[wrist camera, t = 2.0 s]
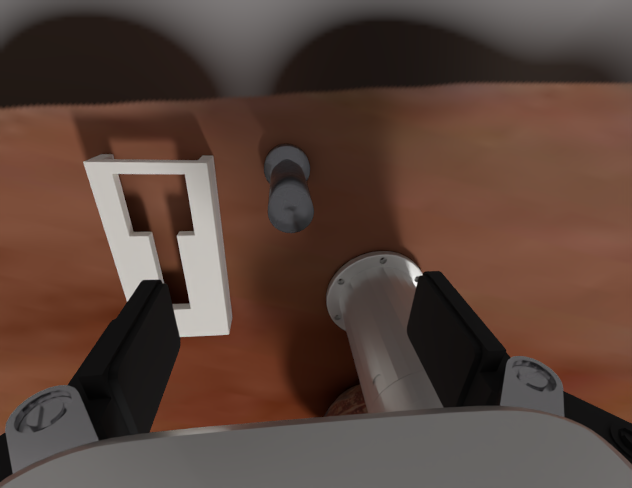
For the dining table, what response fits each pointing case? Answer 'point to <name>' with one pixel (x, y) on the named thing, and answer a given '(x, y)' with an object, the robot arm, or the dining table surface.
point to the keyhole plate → (195, 246)
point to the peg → (288, 188)
